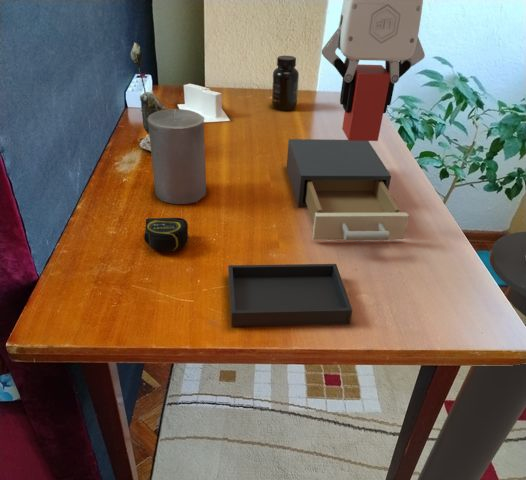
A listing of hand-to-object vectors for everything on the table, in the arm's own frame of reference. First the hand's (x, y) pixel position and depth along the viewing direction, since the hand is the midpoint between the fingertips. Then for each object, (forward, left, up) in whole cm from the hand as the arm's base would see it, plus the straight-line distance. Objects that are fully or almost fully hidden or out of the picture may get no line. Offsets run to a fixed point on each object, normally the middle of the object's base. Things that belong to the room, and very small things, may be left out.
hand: (364, 108), depth 72 cm
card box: (0, 0, -4) cm, 4 cm away
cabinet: (-1, -17, -20) cm, 26 cm away
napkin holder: (+25, -61, -20) cm, 69 cm away
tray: (+13, +20, -20) cm, 31 cm away
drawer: (-1, -1, -19) cm, 19 cm away
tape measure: (+31, +4, -20) cm, 37 cm away
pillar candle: (+29, -14, -20) cm, 38 cm away
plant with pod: (+35, -36, -20) cm, 54 cm away
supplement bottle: (+3, -66, -20) cm, 69 cm away
